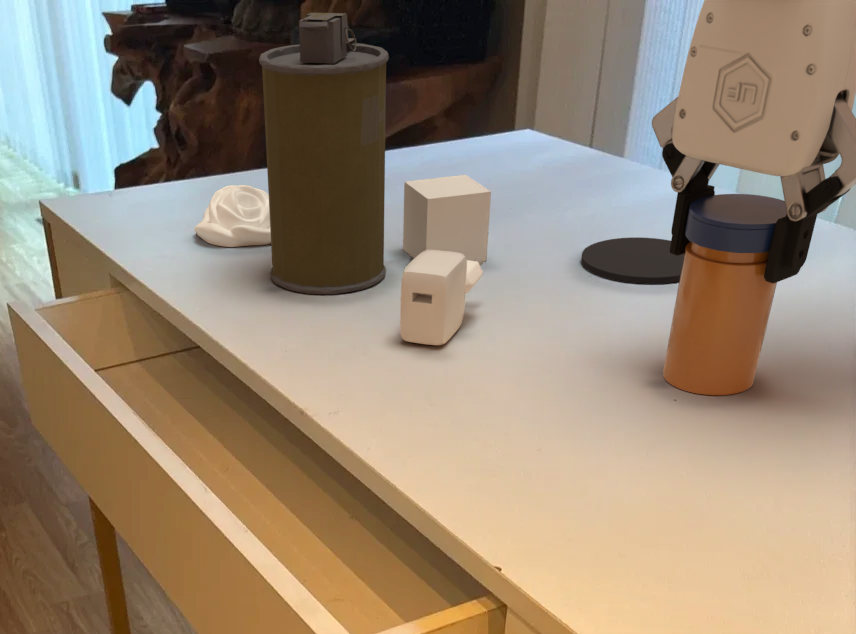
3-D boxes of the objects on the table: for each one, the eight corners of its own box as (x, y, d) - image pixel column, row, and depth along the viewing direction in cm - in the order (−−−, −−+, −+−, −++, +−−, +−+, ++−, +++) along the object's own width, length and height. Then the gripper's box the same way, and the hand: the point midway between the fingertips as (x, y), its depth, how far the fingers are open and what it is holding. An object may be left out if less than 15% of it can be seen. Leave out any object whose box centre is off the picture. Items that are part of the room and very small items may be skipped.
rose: (236, 167, 113) (312, 180, 108) (239, 213, 116) (314, 228, 111) (169, 191, 107) (247, 206, 102) (174, 239, 110) (250, 256, 105)
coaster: (699, 245, 104) (700, 238, 104) (712, 285, 96) (714, 278, 96) (579, 242, 106) (580, 236, 105) (582, 282, 98) (583, 275, 97)
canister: (366, 299, 96) (367, 28, 83) (253, 289, 98) (236, 24, 86) (400, 259, 103) (406, 5, 91) (294, 250, 106) (285, 3, 93)
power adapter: (435, 296, 96) (438, 224, 92) (490, 302, 94) (495, 230, 91) (391, 343, 88) (392, 267, 84) (449, 351, 87) (454, 274, 83)
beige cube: (425, 269, 101) (427, 199, 97) (402, 249, 106) (403, 181, 102) (486, 261, 103) (491, 191, 99) (461, 241, 107) (465, 174, 103)
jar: (746, 361, 84) (780, 211, 77) (760, 397, 79) (797, 241, 72) (659, 358, 85) (685, 210, 78) (666, 393, 80) (695, 239, 73)
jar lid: (722, 214, 79) (727, 187, 78) (813, 235, 75) (820, 207, 74) (664, 237, 76) (668, 209, 75) (756, 260, 72) (762, 231, 70)
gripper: (636, -54, 69) (598, 246, 80) (901, -31, 58) (813, 311, 69) (712, -65, 72) (665, 224, 84) (975, -46, 61) (880, 283, 73)
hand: (733, 261), depth 76 cm, fingers closed on jar lid, 7 cm apart
